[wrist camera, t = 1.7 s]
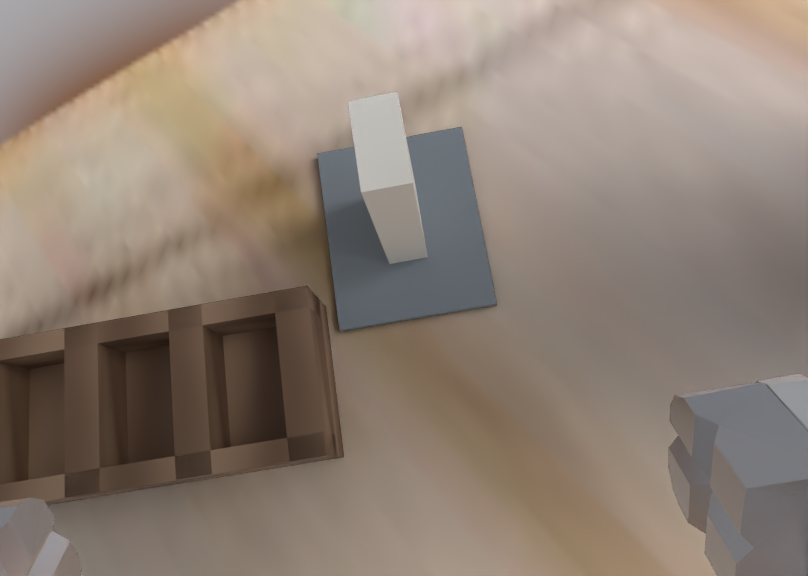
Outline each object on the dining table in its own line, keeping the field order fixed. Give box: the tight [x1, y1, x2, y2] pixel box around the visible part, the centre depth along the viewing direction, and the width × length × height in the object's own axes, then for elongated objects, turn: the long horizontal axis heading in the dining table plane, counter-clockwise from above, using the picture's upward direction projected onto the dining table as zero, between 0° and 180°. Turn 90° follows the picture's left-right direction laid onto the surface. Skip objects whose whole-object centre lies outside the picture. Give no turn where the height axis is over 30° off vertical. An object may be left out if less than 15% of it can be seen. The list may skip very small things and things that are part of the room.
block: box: [348, 92, 428, 264], centre depth 29 cm, size 2×4×9 cm, turn 9°
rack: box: [0, 286, 344, 505], centre depth 31 cm, size 17×8×4 cm, turn 99°
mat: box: [317, 127, 497, 332], centre depth 34 cm, size 8×10×1 cm
